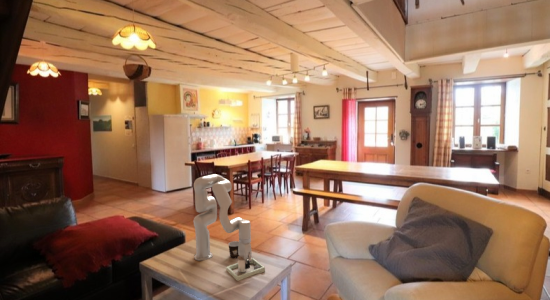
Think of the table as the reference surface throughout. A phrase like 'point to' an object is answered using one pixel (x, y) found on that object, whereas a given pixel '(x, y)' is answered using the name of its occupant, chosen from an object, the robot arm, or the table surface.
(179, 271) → the table surface
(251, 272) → the tray frame
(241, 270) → the cylinder
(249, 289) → the table surface
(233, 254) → the coffee mug
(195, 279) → the table surface
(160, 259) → the table surface
